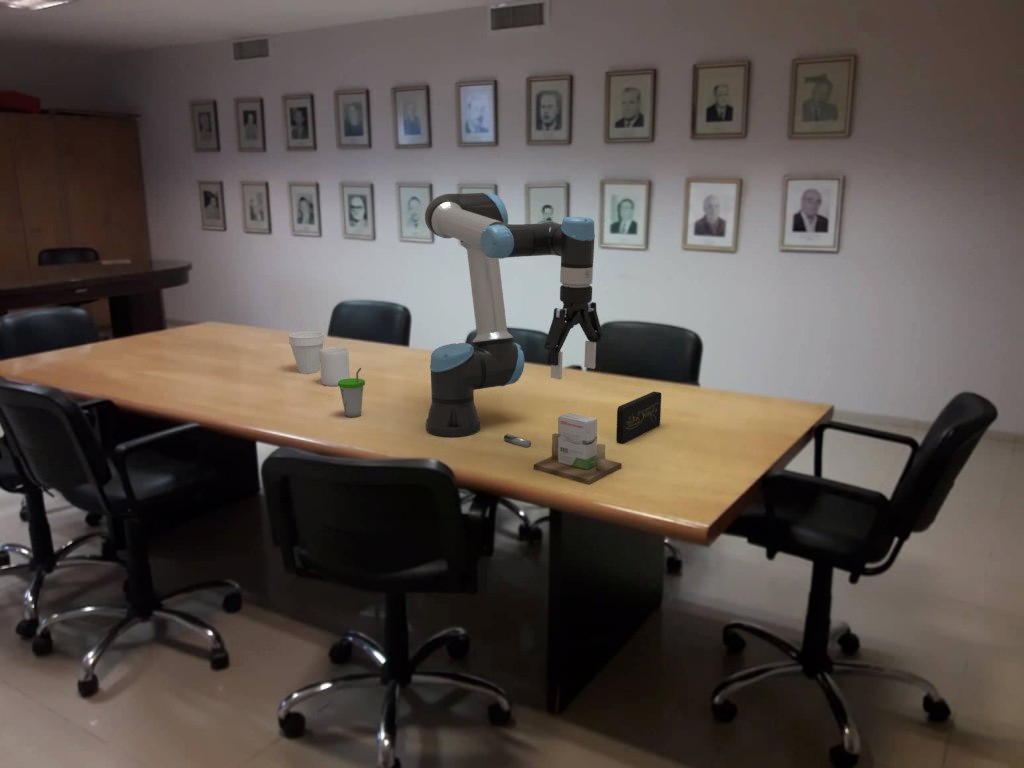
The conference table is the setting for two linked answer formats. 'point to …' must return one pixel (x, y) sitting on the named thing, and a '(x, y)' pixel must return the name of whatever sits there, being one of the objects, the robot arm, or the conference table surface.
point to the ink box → (577, 440)
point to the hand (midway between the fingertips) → (573, 372)
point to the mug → (334, 365)
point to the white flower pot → (307, 350)
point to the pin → (517, 440)
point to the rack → (575, 473)
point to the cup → (352, 395)
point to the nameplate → (638, 417)
